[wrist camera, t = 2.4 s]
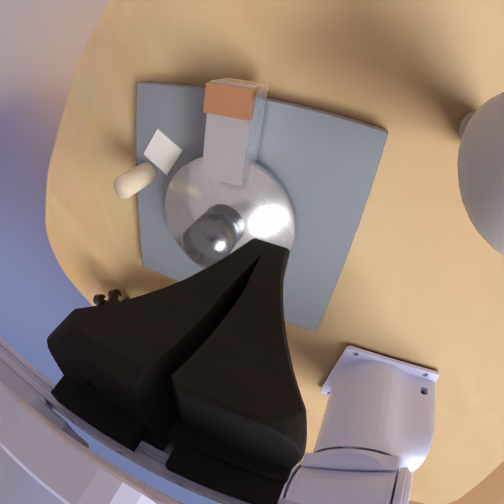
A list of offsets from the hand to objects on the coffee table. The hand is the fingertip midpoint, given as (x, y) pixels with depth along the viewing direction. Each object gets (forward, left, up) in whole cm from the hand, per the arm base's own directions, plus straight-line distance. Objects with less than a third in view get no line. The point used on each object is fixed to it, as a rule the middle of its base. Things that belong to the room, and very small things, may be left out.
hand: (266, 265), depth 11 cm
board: (+5, +4, -10) cm, 11 cm away
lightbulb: (-8, -6, -10) cm, 14 cm away
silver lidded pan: (+5, +2, -8) cm, 10 cm away
